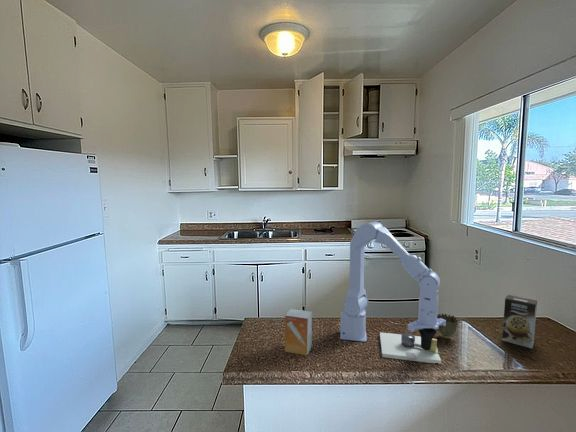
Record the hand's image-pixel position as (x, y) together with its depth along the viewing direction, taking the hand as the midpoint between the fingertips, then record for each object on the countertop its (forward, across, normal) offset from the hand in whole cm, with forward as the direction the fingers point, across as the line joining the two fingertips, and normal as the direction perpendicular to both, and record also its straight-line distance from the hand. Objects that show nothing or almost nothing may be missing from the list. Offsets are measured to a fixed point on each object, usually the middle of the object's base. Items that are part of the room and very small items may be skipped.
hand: (425, 348), depth 105 cm
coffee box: (+2, +39, -4) cm, 40 cm away
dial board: (+2, -2, +6) cm, 7 cm away
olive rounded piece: (+2, +17, +7) cm, 19 cm away
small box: (+3, -38, +19) cm, 43 cm away
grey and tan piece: (+1, 0, +3) cm, 3 cm away
